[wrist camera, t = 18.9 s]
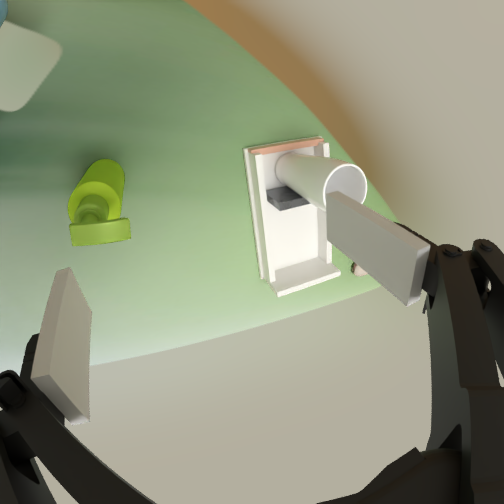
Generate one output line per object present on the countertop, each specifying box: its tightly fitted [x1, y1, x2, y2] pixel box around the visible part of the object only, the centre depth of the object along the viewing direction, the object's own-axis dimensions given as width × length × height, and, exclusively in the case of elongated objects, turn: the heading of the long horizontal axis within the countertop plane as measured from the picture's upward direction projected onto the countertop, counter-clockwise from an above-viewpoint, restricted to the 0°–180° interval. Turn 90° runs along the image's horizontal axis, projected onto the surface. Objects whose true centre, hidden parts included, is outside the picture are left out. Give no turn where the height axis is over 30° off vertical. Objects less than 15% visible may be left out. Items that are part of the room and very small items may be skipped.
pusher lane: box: [243, 136, 340, 297], centre depth 50 cm, size 23×13×7 cm, turn 7°
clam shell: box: [352, 263, 368, 276], centre depth 64 cm, size 4×5×2 cm
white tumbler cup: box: [275, 152, 367, 212], centre depth 42 cm, size 7×7×15 cm
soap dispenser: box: [68, 159, 131, 246], centre depth 33 cm, size 6×7×20 cm
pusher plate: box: [266, 186, 311, 211], centre depth 48 cm, size 1×9×6 cm, turn 97°
